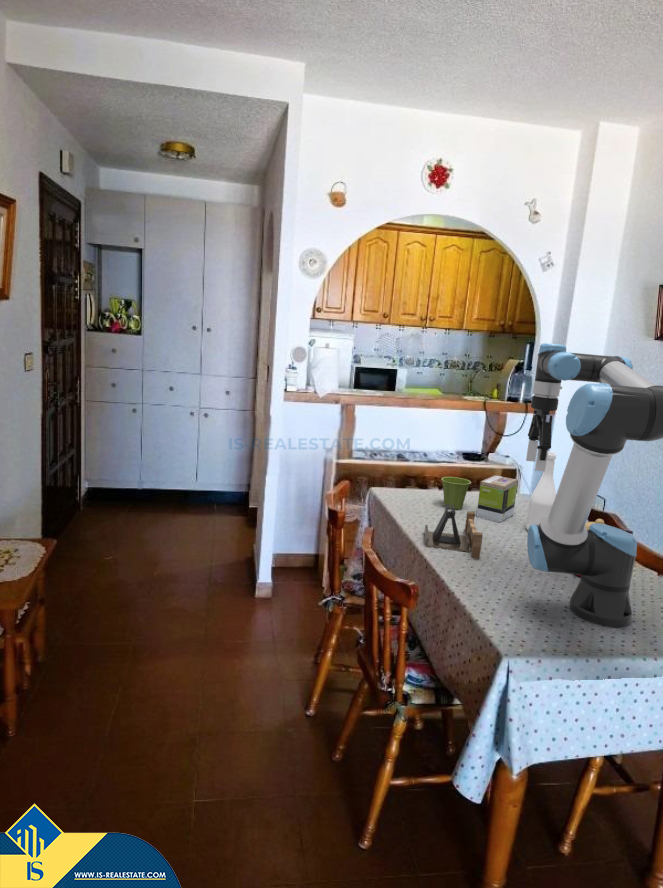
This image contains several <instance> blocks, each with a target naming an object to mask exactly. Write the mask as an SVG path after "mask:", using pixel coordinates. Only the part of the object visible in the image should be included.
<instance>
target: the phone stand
mask: <svg viewBox="0 0 663 888" xmlns="http://www.w3.org/2000/svg"><path fill="white" fill-rule="evenodd" d="M451 506H452V509H450V507H449V503H448V504H446V506H444V512H443V514H442V516H441V518H440V519H439V522H438V523H437V525H436V527H435V529H434V531H433V532H434V533H433V541H434V542H442V543H450V544H459V545H460V544H461V542H460V538H459V535H460V534H459V531H458V526H457V521H456V509H455V508H454V505H453V504H451ZM449 519H450V520H451V525H452V532H453V533H452V534H454V537H449V536H441V535H442V533H444V530H445V527H446V525H447V523H448V520H449Z"/></svg>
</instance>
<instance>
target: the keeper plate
mask: <svg viewBox="0 0 663 888" xmlns="http://www.w3.org/2000/svg"><path fill="white" fill-rule="evenodd" d="M433 533H434V531H429V526H428V524H425V525H424V534H425V535H424V543H425V546H426V547H425V548H430V547H433V548H432V549H438V548H441V549H440V550H447V549H448V551H455V550H457V552H463V551H465V552H466V553H469V552H470V541H469V538H468V534H467V531H466V530H465V528H464V529H463V532H462V534H459V538H460V542H461V544H460V545H459V544H450V543H442V542H434V541H433ZM441 536H449V537H454V534H453V533H446V532H442V535H441Z"/></svg>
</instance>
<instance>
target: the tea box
mask: <svg viewBox="0 0 663 888" xmlns="http://www.w3.org/2000/svg"><path fill="white" fill-rule="evenodd" d="M518 480H519V479H515V478H511V477H504V476H501V475H496V474H494V475H492V476H490V477H488V478H485V479H483V480H481V481H480V485H479V492H478V493H479V494H478V500H477V501H478V502H477V509H476V510H477V511H476V518H479V517H480V518H479V519H483V518H484V520H488V521H491V522H496V523H502V522H503V521H505V520H507V519H509V518H510V517H512V516H513V515H514V514H515V507H516V506H515V505H516V496H517V490H518V489H517V488H518V482H519V481H518Z"/></svg>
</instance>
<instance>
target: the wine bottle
mask: <svg viewBox="0 0 663 888" xmlns="http://www.w3.org/2000/svg"><path fill="white" fill-rule="evenodd" d="M556 459H557V453H556V452H554V451H550V450H548V455H547V461H546V468H545V471H542V475H541V478H540V479H539V481H538V483H537V484H536V487H535V488H534V491H532V494H531V496H530V499H529V505H528V511H527V518H526V522H525V523H526V524H525V528H526V530H527V531H528V529H529V527H530V526H531V525H534V524H537V525H539V524H540V521H541V519H542V517H543V516H544V515H546V514H548V513H550V511H551V508H552V505H553V503H554V500H555V497H556V494H557V491H556V485H555V482H554V471H555V463H556V462H555V461H556Z"/></svg>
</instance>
